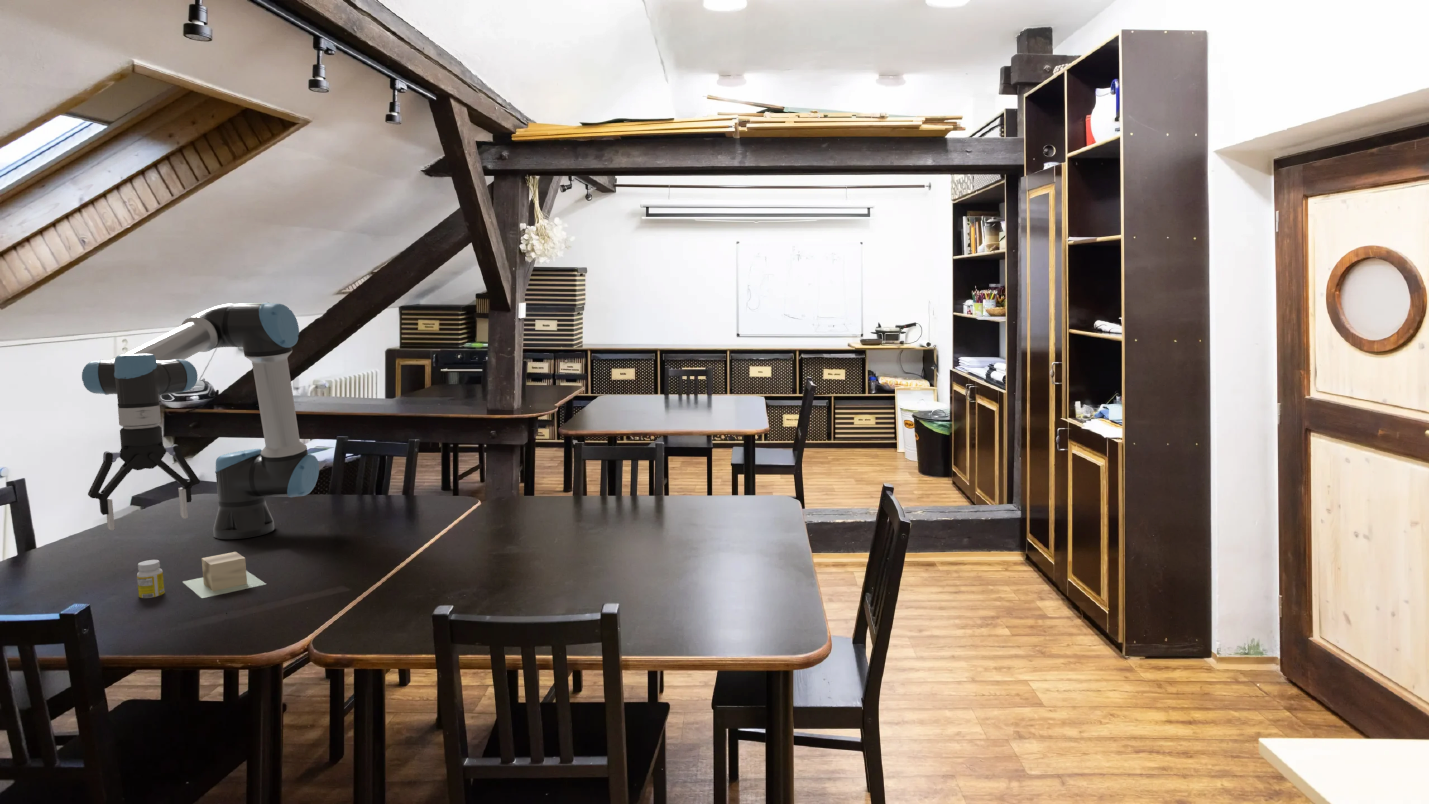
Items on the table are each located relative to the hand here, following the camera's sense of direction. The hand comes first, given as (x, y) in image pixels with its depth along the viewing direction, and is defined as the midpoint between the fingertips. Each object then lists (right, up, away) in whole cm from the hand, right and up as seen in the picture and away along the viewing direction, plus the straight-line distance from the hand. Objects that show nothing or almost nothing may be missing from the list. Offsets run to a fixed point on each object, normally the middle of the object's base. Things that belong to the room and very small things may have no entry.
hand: (148, 523), depth 189 cm
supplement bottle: (0, -17, +2) cm, 17 cm away
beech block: (+12, -15, +8) cm, 21 cm away
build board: (+11, -16, +9) cm, 22 cm away
